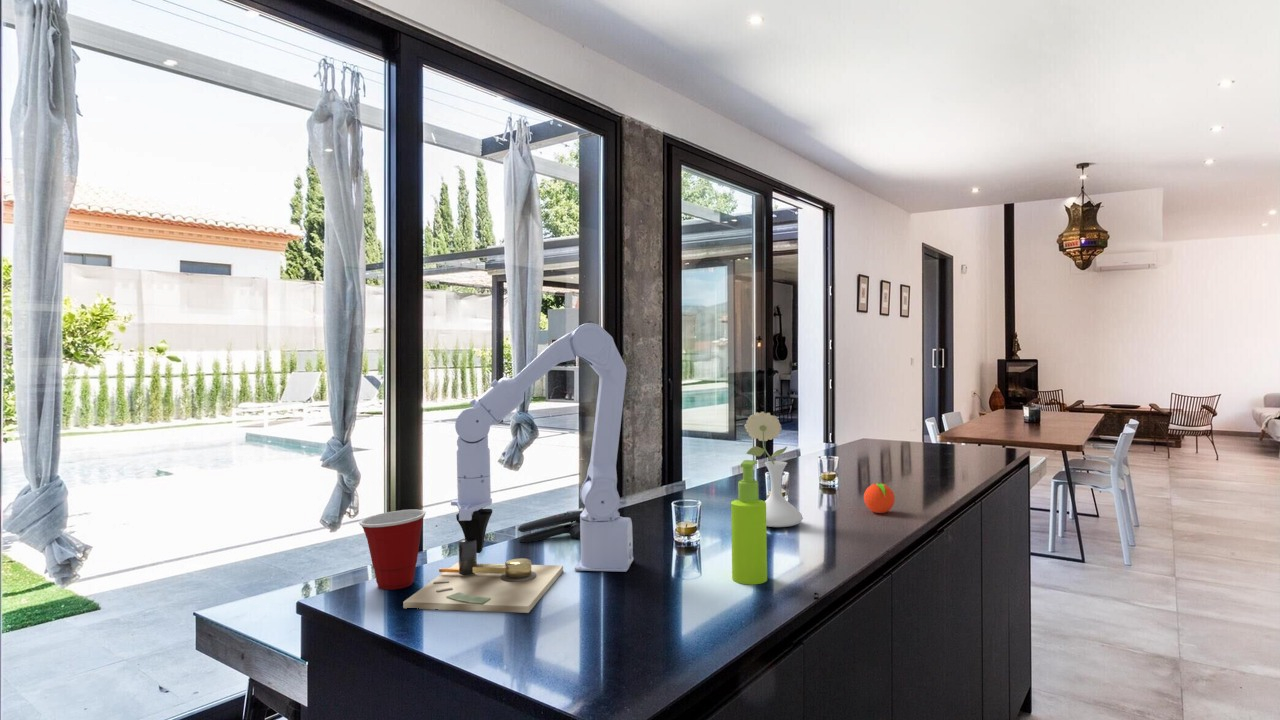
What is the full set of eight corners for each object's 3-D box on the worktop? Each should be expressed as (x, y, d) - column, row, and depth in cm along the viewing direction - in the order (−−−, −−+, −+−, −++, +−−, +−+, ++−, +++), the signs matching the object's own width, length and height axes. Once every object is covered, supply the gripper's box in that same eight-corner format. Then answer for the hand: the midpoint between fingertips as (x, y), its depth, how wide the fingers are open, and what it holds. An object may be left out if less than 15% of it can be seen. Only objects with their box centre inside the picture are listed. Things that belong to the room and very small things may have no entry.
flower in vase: (810, 522, 166) (808, 410, 166) (791, 533, 157) (790, 415, 156) (756, 516, 173) (754, 408, 173) (735, 526, 164) (733, 413, 163)
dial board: (563, 571, 133) (563, 564, 133) (528, 612, 112) (528, 604, 112) (456, 568, 136) (456, 561, 136) (403, 608, 115) (403, 600, 115)
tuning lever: (534, 570, 129) (534, 538, 129) (527, 578, 124) (526, 545, 124) (445, 567, 131) (444, 536, 131) (434, 575, 127) (433, 543, 127)
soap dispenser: (770, 573, 129) (769, 458, 129) (764, 585, 123) (762, 465, 123) (737, 570, 131) (735, 457, 131) (728, 582, 125) (727, 463, 125)
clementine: (900, 517, 170) (900, 486, 170) (870, 517, 170) (869, 486, 170) (889, 509, 178) (889, 479, 178) (860, 509, 178) (859, 480, 178)
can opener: (594, 530, 164) (594, 505, 163) (604, 537, 157) (604, 511, 157) (514, 539, 157) (513, 512, 157) (521, 547, 151) (520, 519, 150)
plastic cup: (375, 575, 133) (373, 507, 132) (435, 574, 132) (434, 507, 132) (349, 595, 122) (347, 522, 122) (415, 594, 121) (413, 521, 121)
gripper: (461, 469, 139) (462, 541, 139) (440, 483, 125) (441, 564, 125) (499, 468, 139) (500, 541, 139) (482, 482, 125) (483, 563, 125)
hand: (475, 552), depth 132 cm, fingers closed
